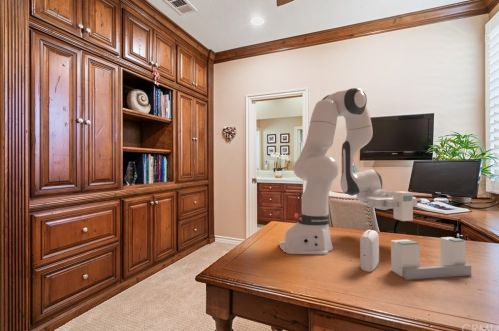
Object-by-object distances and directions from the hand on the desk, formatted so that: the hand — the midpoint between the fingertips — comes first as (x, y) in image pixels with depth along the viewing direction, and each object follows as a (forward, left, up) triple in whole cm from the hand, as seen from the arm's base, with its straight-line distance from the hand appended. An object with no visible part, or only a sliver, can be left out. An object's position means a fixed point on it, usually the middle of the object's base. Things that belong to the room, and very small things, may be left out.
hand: (404, 204), depth 98 cm
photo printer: (-22, -11, -19) cm, 31 cm away
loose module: (0, +1, -6) cm, 6 cm away
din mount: (-6, -18, -19) cm, 27 cm away
